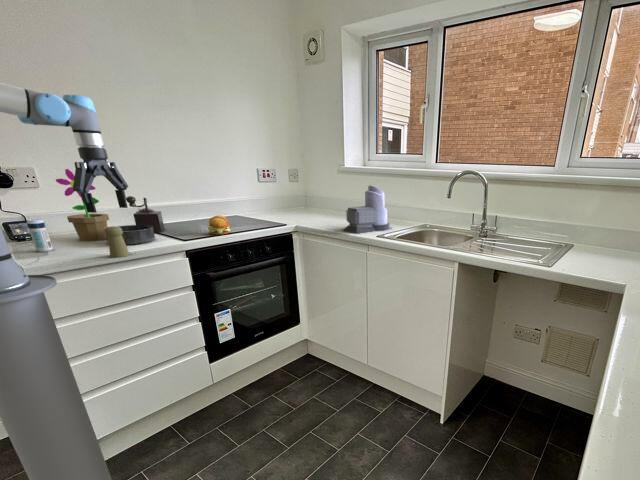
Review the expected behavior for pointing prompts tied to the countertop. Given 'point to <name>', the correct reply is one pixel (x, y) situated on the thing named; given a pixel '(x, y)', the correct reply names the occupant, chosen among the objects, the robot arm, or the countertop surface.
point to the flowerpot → (85, 215)
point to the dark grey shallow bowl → (136, 234)
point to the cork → (116, 242)
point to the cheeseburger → (218, 225)
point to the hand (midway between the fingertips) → (108, 210)
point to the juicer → (368, 213)
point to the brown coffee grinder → (147, 215)
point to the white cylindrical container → (39, 235)
